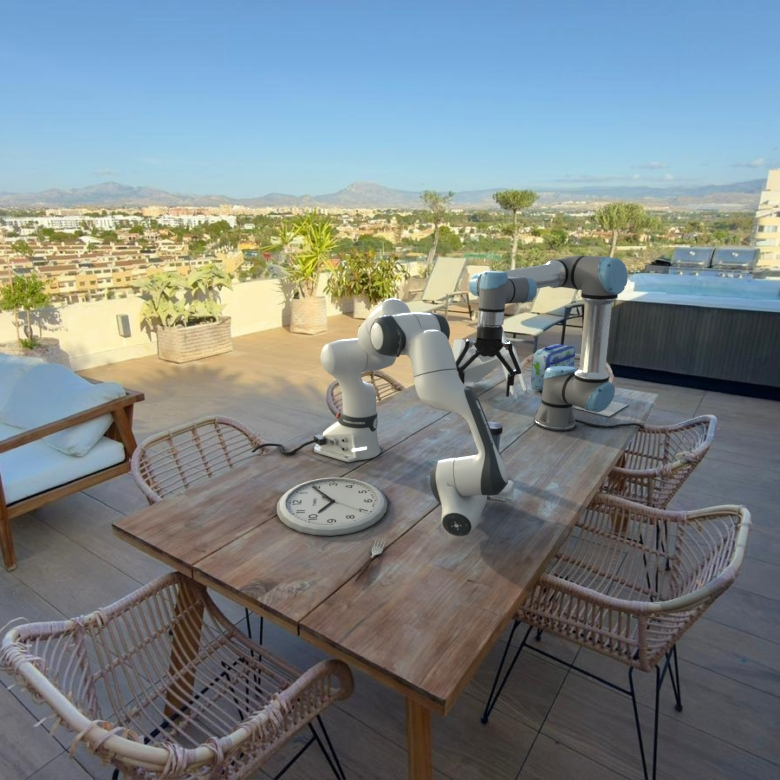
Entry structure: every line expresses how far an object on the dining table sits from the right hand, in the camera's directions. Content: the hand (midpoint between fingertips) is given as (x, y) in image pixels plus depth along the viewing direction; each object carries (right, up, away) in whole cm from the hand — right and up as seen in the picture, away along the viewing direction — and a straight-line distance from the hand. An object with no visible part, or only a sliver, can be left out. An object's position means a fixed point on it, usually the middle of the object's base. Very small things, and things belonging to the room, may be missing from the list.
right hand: (484, 394), depth 160 cm
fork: (-34, -38, -41) cm, 65 cm away
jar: (+2, -25, +3) cm, 25 cm away
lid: (+2, -10, -1) cm, 10 cm away
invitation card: (+63, -6, +67) cm, 92 cm away
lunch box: (+48, +2, +91) cm, 103 cm away
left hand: (-3, -22, -10) cm, 25 cm away
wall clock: (-45, -30, -17) cm, 57 cm away
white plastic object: (+13, 0, +83) cm, 84 cm away
